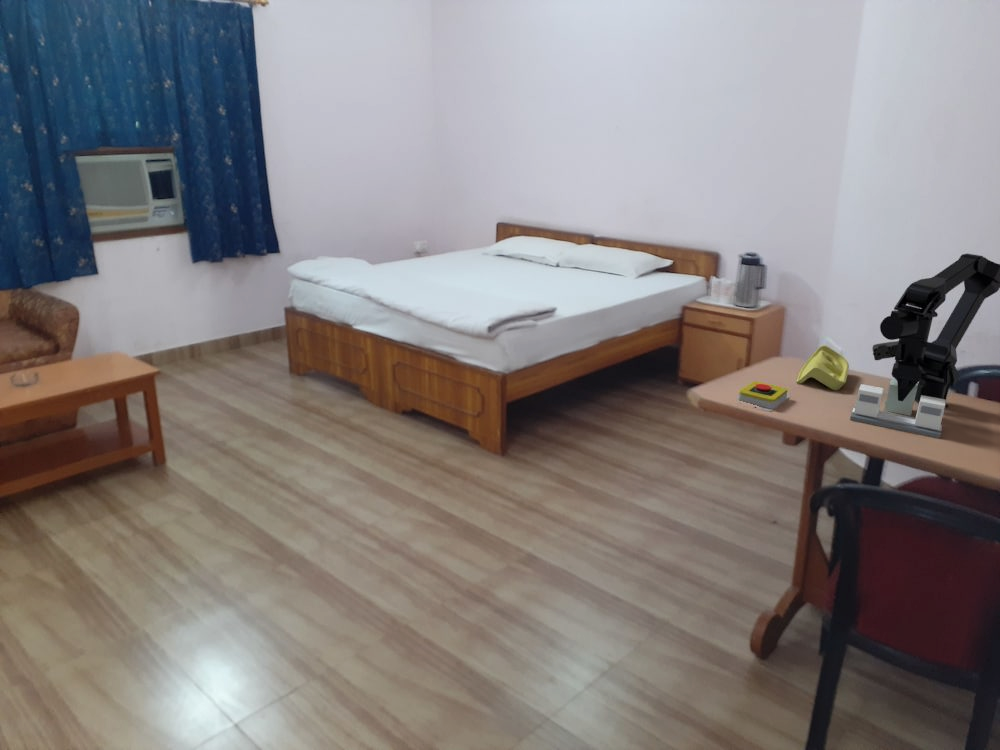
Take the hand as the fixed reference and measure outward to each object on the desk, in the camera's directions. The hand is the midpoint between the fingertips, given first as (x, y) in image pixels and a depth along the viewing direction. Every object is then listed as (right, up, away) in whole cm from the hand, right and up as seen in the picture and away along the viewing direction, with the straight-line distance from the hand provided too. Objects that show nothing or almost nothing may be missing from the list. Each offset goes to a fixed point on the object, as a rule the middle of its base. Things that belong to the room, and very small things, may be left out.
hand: (901, 395), depth 184 cm
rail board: (-6, -7, -8) cm, 12 cm away
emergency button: (-33, -2, +5) cm, 33 cm away
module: (0, -4, +1) cm, 4 cm away
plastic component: (-9, +3, +23) cm, 25 cm away
